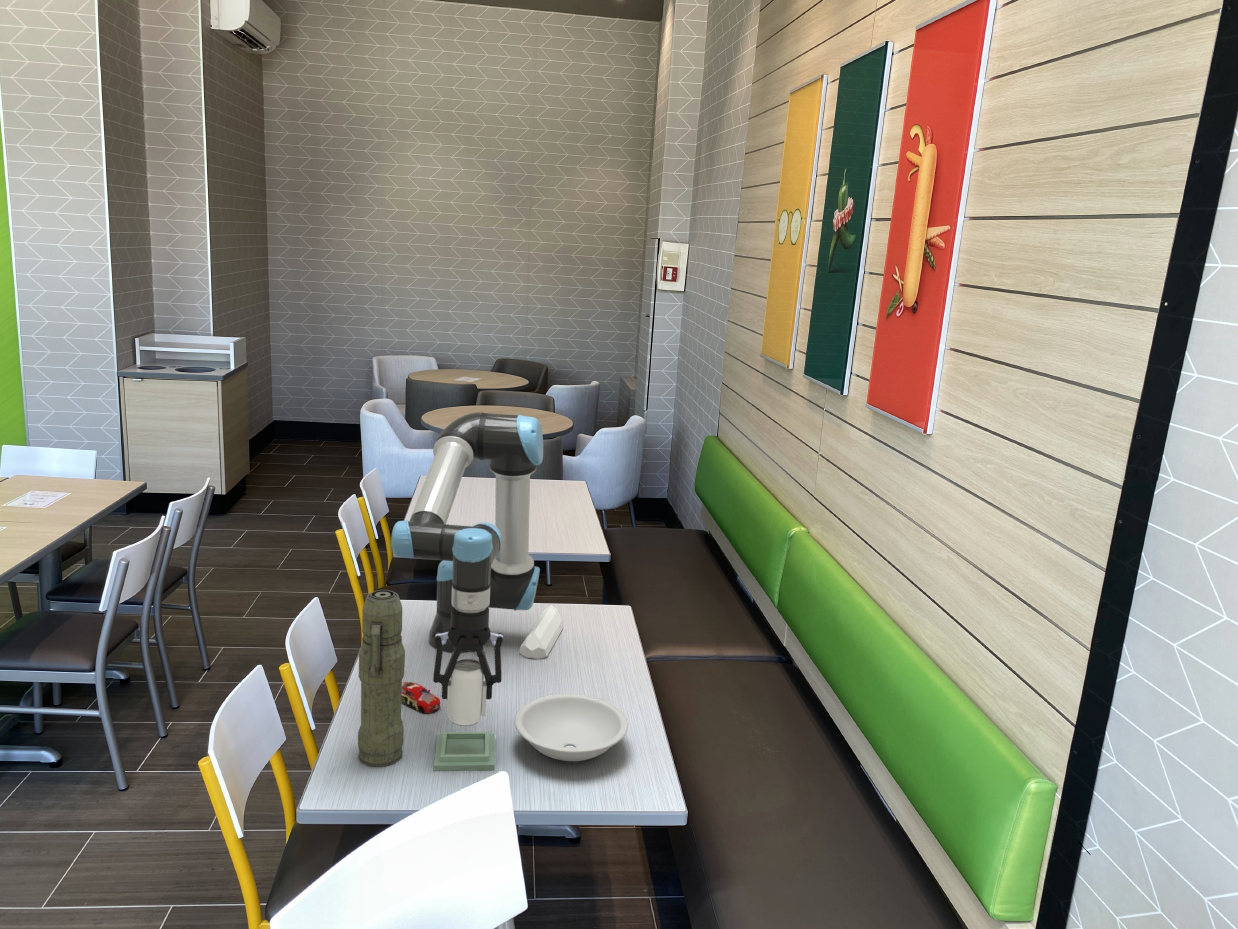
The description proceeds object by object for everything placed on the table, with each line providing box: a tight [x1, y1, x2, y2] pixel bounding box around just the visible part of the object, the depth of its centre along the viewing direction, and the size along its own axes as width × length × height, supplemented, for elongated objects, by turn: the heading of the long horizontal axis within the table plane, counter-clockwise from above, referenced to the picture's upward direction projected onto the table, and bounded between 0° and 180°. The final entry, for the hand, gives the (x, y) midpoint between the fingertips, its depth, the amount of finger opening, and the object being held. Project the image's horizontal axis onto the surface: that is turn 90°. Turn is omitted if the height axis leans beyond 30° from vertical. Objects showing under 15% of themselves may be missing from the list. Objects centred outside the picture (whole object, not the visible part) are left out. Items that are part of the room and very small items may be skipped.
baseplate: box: [433, 731, 496, 772], centre depth 180 cm, size 12×12×2 cm
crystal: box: [519, 604, 564, 660], centre depth 237 cm, size 7×7×24 cm
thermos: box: [357, 589, 406, 768], centre depth 174 cm, size 9×12×35 cm
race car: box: [401, 681, 442, 714], centre depth 200 cm, size 13×5×4 cm, turn 54°
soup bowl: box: [514, 693, 629, 762], centre depth 185 cm, size 24×24×7 cm
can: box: [449, 658, 484, 727], centre depth 177 cm, size 6×6×12 cm
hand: (466, 712), depth 178 cm, fingers closed on can, 6 cm apart
